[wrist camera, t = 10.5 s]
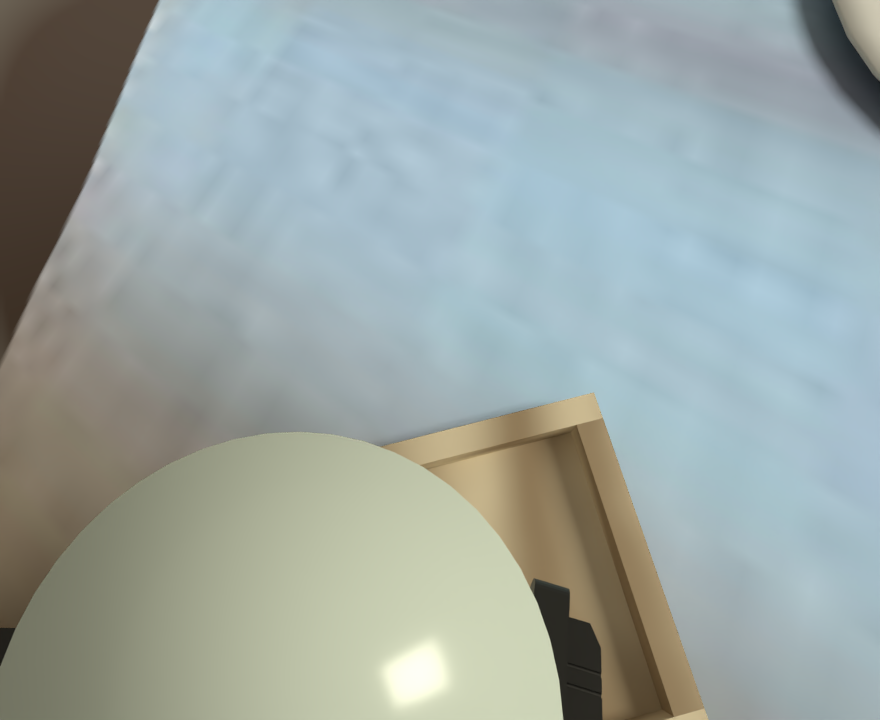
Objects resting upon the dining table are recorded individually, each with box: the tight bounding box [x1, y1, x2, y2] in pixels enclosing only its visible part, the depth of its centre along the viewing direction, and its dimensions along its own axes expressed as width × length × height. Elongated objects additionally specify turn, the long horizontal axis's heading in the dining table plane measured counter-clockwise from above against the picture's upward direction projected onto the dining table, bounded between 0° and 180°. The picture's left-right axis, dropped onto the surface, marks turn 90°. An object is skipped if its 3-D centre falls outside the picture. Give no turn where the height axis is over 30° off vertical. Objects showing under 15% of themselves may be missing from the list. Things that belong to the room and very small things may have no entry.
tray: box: [381, 393, 708, 720], centre depth 26 cm, size 20×14×2 cm
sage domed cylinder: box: [0, 432, 563, 720], centre depth 12 cm, size 6×6×12 cm
